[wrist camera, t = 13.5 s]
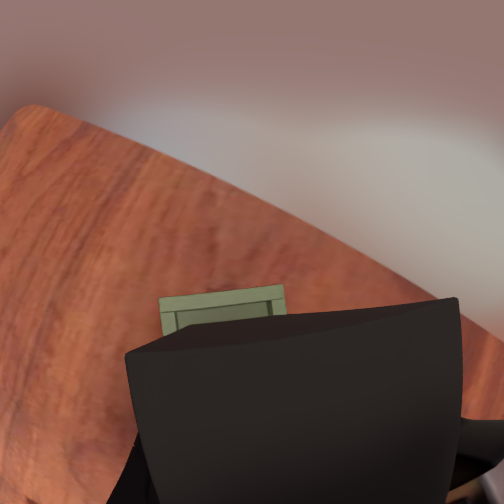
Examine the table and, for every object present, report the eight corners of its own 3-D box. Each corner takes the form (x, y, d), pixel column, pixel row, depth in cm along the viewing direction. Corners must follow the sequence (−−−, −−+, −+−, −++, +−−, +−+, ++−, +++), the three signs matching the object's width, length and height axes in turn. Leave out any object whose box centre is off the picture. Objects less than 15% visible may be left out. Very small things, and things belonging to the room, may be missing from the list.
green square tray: (289, 393, 20) (298, 400, 18) (179, 410, 18) (177, 419, 17) (275, 286, 22) (283, 283, 20) (161, 299, 20) (158, 297, 18)
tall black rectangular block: (286, 397, 15) (442, 516, 3) (200, 409, 14) (201, 593, 2) (277, 314, 16) (459, 295, 4) (188, 324, 15) (121, 352, 3)
